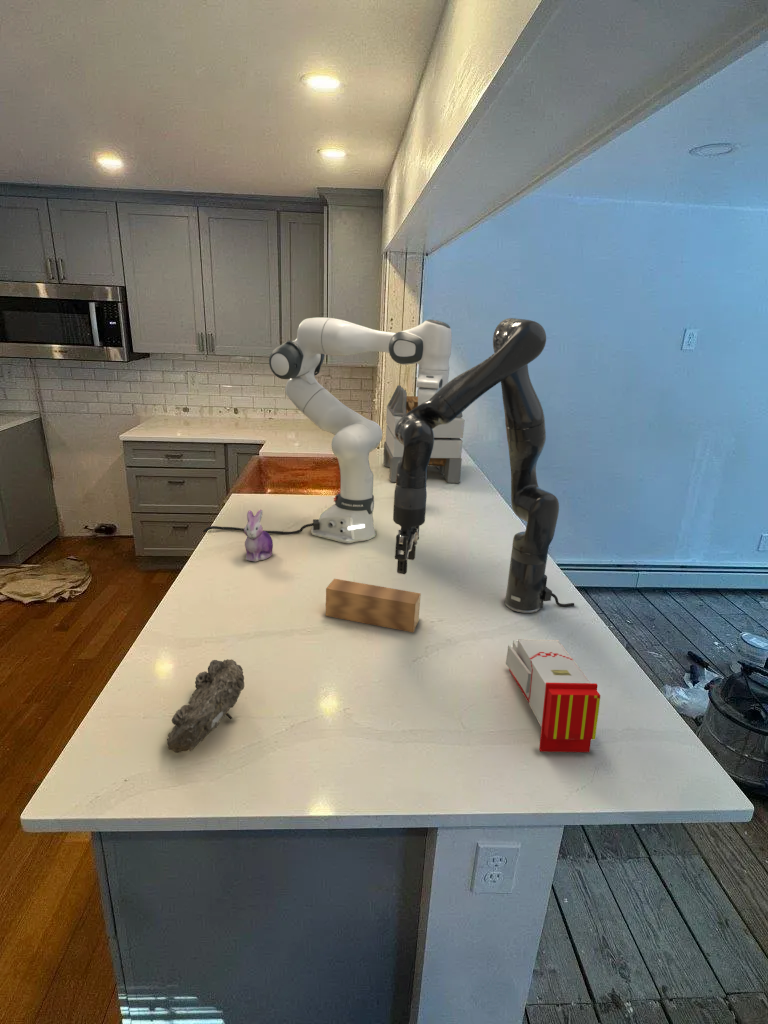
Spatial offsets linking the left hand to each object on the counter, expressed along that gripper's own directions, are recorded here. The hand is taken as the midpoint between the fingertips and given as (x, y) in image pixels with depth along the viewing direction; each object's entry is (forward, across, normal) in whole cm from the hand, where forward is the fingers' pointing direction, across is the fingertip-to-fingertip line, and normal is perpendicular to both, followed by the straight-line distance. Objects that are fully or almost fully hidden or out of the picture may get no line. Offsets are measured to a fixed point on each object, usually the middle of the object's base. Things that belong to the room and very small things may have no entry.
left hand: (429, 425), depth 170 cm
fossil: (+42, +89, -21) cm, 101 cm away
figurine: (+43, +20, -47) cm, 66 cm away
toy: (+42, +65, +40) cm, 87 cm away
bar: (+42, +44, -3) cm, 61 cm away
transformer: (+42, -94, -19) cm, 105 cm away
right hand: (+26, +44, +5) cm, 51 cm away
